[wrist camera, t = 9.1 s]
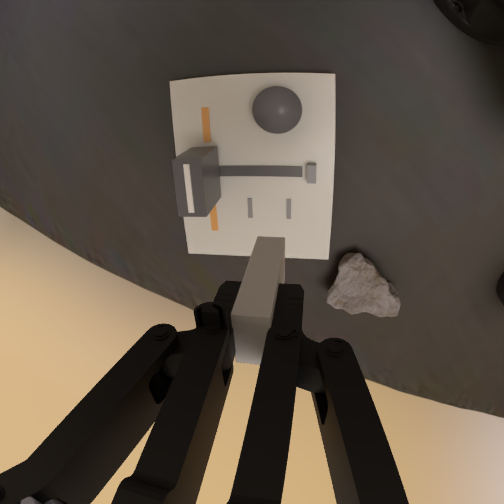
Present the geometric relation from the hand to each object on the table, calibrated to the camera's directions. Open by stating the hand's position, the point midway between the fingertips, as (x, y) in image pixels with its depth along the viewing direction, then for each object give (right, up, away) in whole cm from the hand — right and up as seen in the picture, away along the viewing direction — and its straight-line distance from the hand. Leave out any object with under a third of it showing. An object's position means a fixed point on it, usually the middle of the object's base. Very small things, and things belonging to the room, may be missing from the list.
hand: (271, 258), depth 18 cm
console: (-1, +10, +19) cm, 22 cm away
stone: (+14, -3, +25) cm, 29 cm away
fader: (-6, +9, +18) cm, 21 cm away
